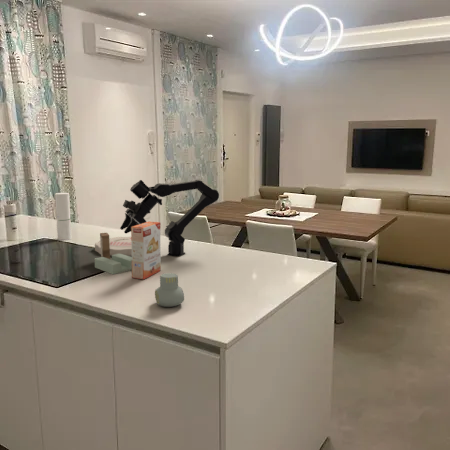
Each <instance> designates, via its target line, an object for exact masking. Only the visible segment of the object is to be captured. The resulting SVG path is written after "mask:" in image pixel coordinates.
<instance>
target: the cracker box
mask: <svg viewBox="0 0 450 450" xmlns="http://www.w3.org/2000/svg"><path fill="white" fill-rule="evenodd" d="M130 234H131V235H130V237H131V245H132V256H131V257H132V270H131V278H132V279H138V280H139V279H140V280H145V279H146V280H147V278H149V277H152V276H153V275H155V274H157V273H159V272H160V271H161V262H162V261H161V258H162V257H161V222H159V221H146V223H142V224H139V225H136V226H132V227H131V232H130Z"/></svg>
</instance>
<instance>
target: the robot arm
mask: <svg viewBox="0 0 450 450" xmlns="http://www.w3.org/2000/svg"><path fill="white" fill-rule="evenodd" d="M193 190H197V191H199V193H200V194H201V195H200V196H199V199H198V201H197V202H196V203H195V204H193V206H192V207H191V208H190V209H189V210H188V211H186V213H184V214H183V216H182V217H180V218H179V220H177V221H173V220H171V221H170V222H169V224H168V225H166V226H165V227H166V228H165V229H164V235H165V237H166V238H168V247H167V248H168V253H167V256H174V257H181V256H183V255H186V252H185V249H184V248H185V247H184V246H185V245H184V243H185V240H186V239H185V238H184V237H183V236H182V235H183V232H184V230H185V228H186V227H187V226H188V225H189V224H190V223H191V222H192V221H193V220H194V219H195V218H196V217H197V216H198V215H199V214H200V213H201V212H202V211H203V210H205V208H206V207H208V206H211V205H213V204H214V203H215V202H218V200H219V198H220V194H219V193H220V192H218V190H217V189H213V188H211V187H210V186H209V185H207V184H205V183H204V182H203V181H202V180H200V179H195V180H190V181H185V182H176V183H156V184H155V185H154V186H147V184H146V183H145V182H144V181H143V180H142V179H140V180H139V181H137V182H135V183H134V184H133V185H132V186H131V187H130V192H131V193H132V194H134V196H135V197H136V198H138V200H140V199H142V200H141V201H140V202H137V203H136V201H134V200H131V201H130V200H127V199H125V200H124V203H123V205H122V207H123V208H125V209H126V210H125V211H124V212H125V213H124V215H125V216H124V217H125V218H124V220H123V222H122V223H121V226H120V228H119V229H120V230H124V231H123V232H124V234H129V233H131V227H132V226H136V225H139V224H142V223H146V222H147V220H146V219H145V217H146V216H147V215H148V214H151V211H152V209H153V208H154V207H155V206H157V204H158V205H160V206H162V205H163V202H162V201H163V199H162V198H166V197H168V196H170V195H172V194H175V193H181V192H186V191H193Z"/></svg>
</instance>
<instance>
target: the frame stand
mask: <svg viewBox="0 0 450 450" xmlns="http://www.w3.org/2000/svg"><path fill="white" fill-rule="evenodd" d="M94 268H95V269H98V270H101V271H103V272H106V273H109V274H110V275H116V274H121V273H125V272H129V271H132V256H126V255H123V254H115V255H112V256H111V258H110V259H108V258H105V257H101V256H100V257H96V258H94Z"/></svg>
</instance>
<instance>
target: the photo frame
mask: <svg viewBox="0 0 450 450" xmlns="http://www.w3.org/2000/svg"><path fill="white" fill-rule="evenodd" d="M99 236H100V237H99V239H100V240H99V241H100V244H101V254H100V257H105V258H108V259H111V255H110V245H109V239H110V235H109V233H108V232H100V233H99Z"/></svg>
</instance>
